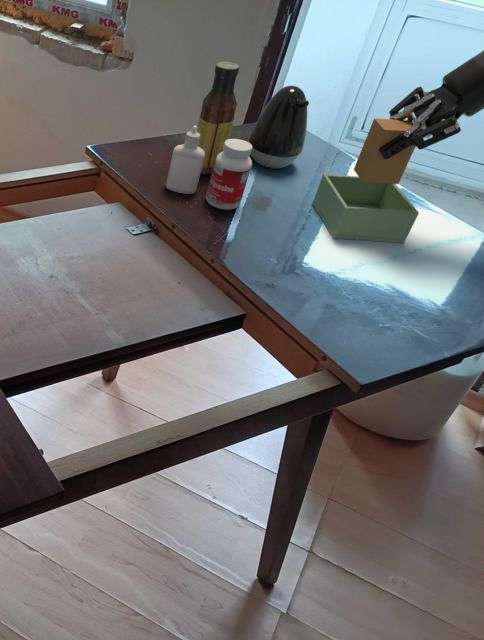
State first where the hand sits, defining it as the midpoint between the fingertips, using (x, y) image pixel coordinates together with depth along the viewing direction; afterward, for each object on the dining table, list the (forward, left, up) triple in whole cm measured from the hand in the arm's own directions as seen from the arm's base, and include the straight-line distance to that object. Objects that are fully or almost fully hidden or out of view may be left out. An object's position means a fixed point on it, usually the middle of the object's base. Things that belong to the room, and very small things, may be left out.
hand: (376, 147), depth 112 cm
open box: (-2, 0, -14) cm, 14 cm away
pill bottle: (+21, -4, -14) cm, 26 cm away
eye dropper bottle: (+28, -8, -14) cm, 32 cm away
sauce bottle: (+22, -17, -14) cm, 31 cm away
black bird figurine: (+8, -22, -14) cm, 27 cm away
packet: (-2, 0, -5) cm, 5 cm away
